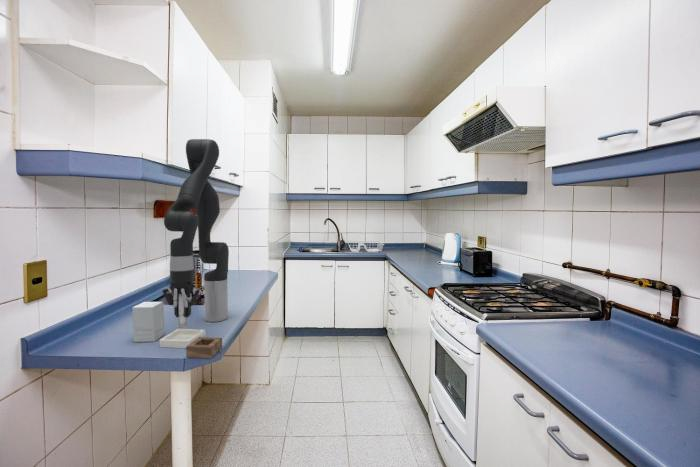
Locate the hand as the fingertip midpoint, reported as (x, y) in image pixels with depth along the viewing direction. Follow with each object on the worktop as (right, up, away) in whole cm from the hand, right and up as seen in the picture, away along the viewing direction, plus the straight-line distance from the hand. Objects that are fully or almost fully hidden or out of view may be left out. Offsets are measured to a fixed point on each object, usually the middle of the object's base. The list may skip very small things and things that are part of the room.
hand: (182, 316), depth 115 cm
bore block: (+11, -10, -8) cm, 17 cm away
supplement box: (-14, -9, +4) cm, 17 cm away
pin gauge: (0, -4, 0) cm, 4 cm away
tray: (0, -9, +1) cm, 9 cm away
